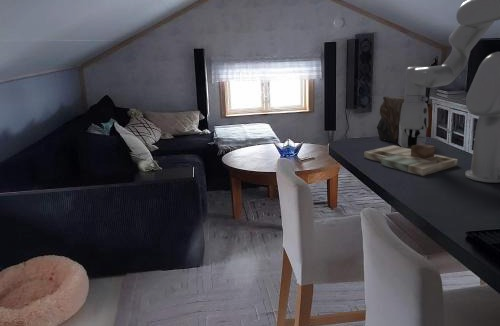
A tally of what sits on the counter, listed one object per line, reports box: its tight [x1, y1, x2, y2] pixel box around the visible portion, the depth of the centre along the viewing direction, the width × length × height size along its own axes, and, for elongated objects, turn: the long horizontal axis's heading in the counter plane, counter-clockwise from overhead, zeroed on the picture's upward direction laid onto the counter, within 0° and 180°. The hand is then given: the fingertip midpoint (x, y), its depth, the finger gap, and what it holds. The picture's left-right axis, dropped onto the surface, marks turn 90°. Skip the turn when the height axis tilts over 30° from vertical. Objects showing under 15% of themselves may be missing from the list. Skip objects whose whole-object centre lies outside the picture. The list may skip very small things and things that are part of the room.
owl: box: [376, 96, 404, 143], centre depth 207 cm, size 13×13×20 cm
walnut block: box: [410, 143, 436, 159], centre depth 168 cm, size 6×6×4 cm
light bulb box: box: [397, 121, 428, 148], centre depth 194 cm, size 11×7×11 cm, turn 84°
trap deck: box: [363, 144, 459, 177], centre depth 170 cm, size 29×21×2 cm
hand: (411, 146), depth 172 cm, fingers closed
